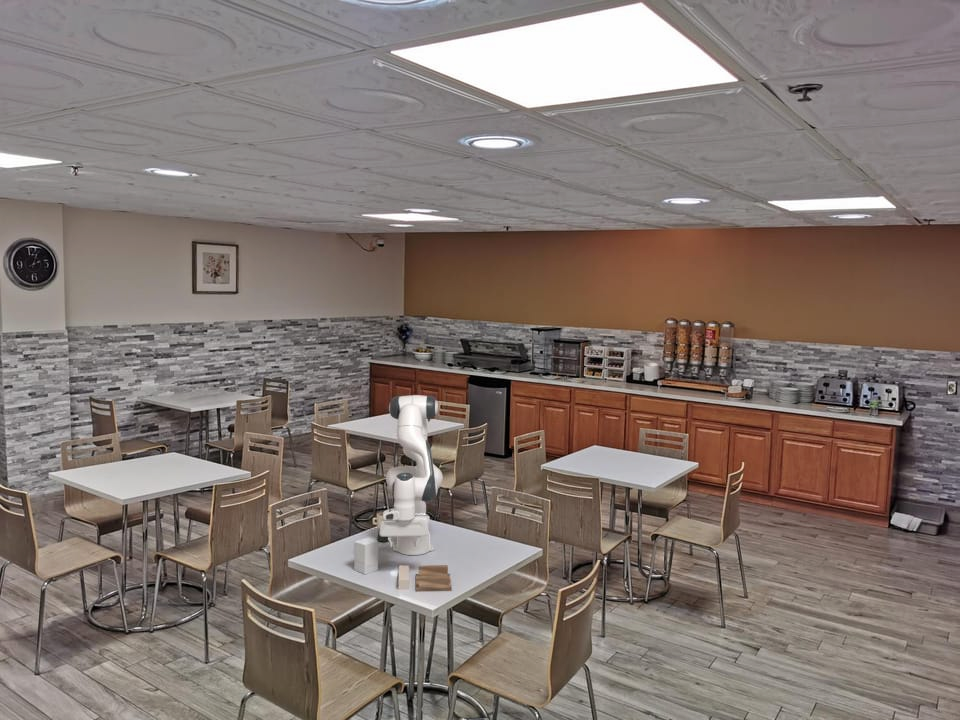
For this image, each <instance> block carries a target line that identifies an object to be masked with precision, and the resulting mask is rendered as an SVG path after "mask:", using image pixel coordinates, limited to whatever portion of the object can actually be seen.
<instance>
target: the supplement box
mask: <svg viewBox="0 0 960 720" xmlns="http://www.w3.org/2000/svg"><path fill="white" fill-rule="evenodd" d="M353 543H354V545H353V546H354V548H353V549H354V552H353V553H354V554H353V555H354V557H353V559H354V562H353V563H354V565H353V567H354V569H353V570H354V571H356V572H358V573H361V574H364V575H368V574H370V573H374V572H376V571H378V570H379V540H375V539H373V538H369V537H365V538H362V539H359V540H355V541H354V542H353Z"/></svg>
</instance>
